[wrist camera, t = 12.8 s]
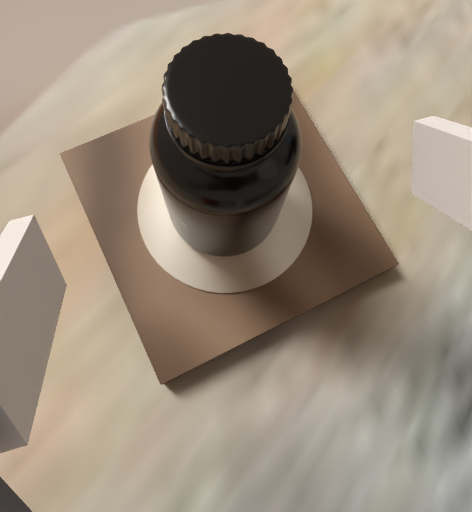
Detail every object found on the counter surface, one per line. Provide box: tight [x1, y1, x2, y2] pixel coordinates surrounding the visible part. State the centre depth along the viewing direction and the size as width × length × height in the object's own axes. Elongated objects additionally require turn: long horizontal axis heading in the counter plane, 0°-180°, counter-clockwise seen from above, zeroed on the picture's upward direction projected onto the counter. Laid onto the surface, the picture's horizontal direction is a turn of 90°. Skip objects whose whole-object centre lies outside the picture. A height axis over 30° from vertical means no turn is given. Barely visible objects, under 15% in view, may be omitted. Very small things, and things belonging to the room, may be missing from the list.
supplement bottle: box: [149, 33, 302, 257], centre depth 21 cm, size 7×7×12 cm
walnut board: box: [60, 91, 399, 385], centre depth 28 cm, size 16×16×2 cm
